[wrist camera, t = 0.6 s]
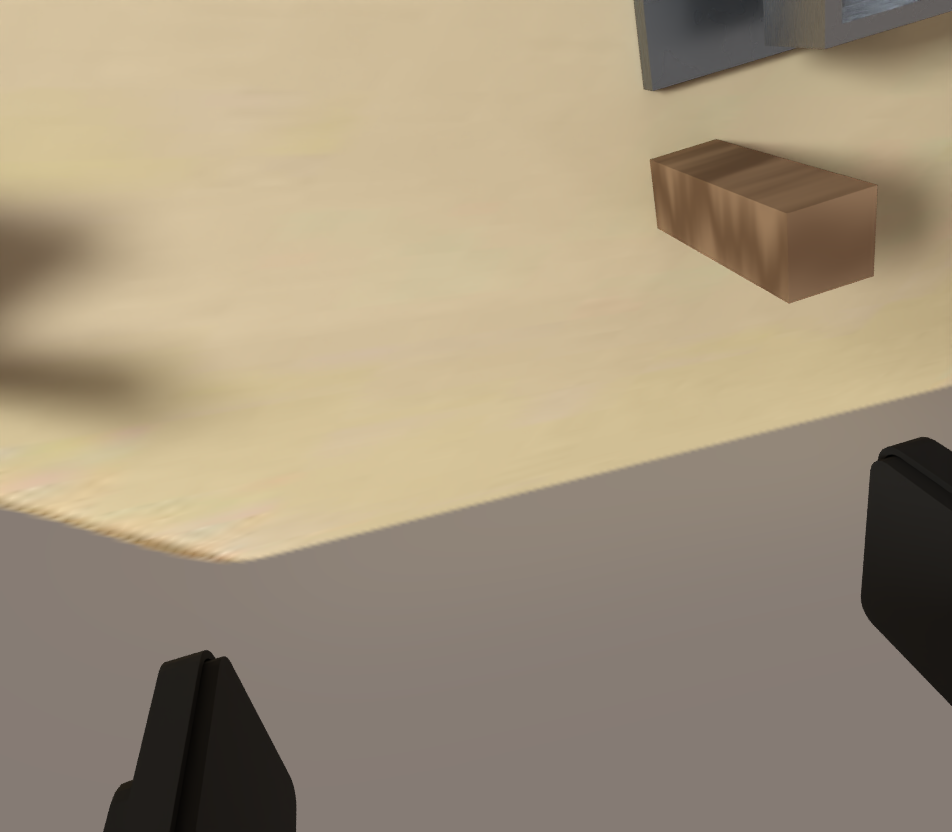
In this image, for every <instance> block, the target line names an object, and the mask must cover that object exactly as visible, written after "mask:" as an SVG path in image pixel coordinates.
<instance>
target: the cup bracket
mask: <svg viewBox="0 0 952 832" xmlns="http://www.w3.org/2000/svg"><path fill="white" fill-rule="evenodd" d="M634 7H635V16H636V25H637V34H638V42H639V51H640V60H641V69H642V78H643V87H644V89H645V90H650V91H655V90H658V89H661V88H665V87H668V86H671V85H675V84H678V83H681V82H685V81H688V80H691V79H694V78H698V77H701V76H704V75H708V74H711V73H714V72H718V71H721V70H724V69H728V68H731V67H734V66H738V65H741V64H744V63H748V62H751V61H754V60H758V59H761V58H764V57H768V56H771V55H774V54H778V53H781V52H784V51H788V50H791V49H794V48H814V49H827V48H830V47H833V46H837V45H840V44H843V43H847V42H850V41H853V40H857V39H860V38H863V37H867V36H870V35H873V34H877V33H880V32H883V31H887V30H890V29H893V28H897V27H900V26H903V25H906V24H910V23H913V22H916V21H920V20H923V19H926V18H930V17H933V16H936V15H940V14H943V13H946V12H950V11H952V0H634Z"/></svg>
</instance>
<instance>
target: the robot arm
mask: <svg viewBox="0 0 952 832" xmlns="http://www.w3.org/2000/svg"><path fill="white" fill-rule="evenodd" d="M861 603H862V607H863V609H864V612H865V614H866V616H867V617H868V619H869V620H870V621H871V623H872V624H873V625H874V626H875V627H876V628H877V629H878V630H879V631H880V632H881V633H882V634H883V635H884V636H885V637H886V638H887V639H888V640H889V641H890V643H891V644H892V645H894V646H895V648H896V649H897V650H898V651H899V652H900V653H901V654H902V655H903V656H904V657H905V658H906V659H907V660H908V661H909V662H910V663H911V664H912V665H913V666H914V667H915V668H916V669H917V670H918V671H919V673H921V675H922V676H923V677H924V678H925V679H926V680H927V681H928V682H929V683H930V684H931V685H932V686H933V687H934V688H935V689H936V690H937V691H938V692H939V693H940V694H941V695H942V696H943V697H944V698H945V699H946V700H947V701H948V703H950V705H951V706H952V451H950V450H949V449H947V448H946V447H944V446H943V445H941V444H939V443H938V442H936V441H935V440H933V439H930V438H928V437H920V438H916V439H913V440H910V441H906V442H903V443H899V444H896V445H893V446H889V447H887V448H885V449H882V451H881V452H880V454H879V457H878V461H876V462H874V463H873V464H872V466H871V470H870V482H869V495H868V509H867V523H866V535H865V549H864V562H863V576H862V588H861ZM103 832H296V797H295V790H294V786H293V783H292V780H291V778H290V775H289V774H288V772H287V770H286V768H285V766H284V764H283V762H282V760H281V758H280V756H279V754H278V752H277V750H276V749H275V746H274V745H273V743H272V741H271V739H270V737H269V735H268V733H267V731H266V729H265V727H264V725H263V723H262V722H261V720H260V718H259V716H258V714H257V712H256V710H255V708H254V706H253V704H252V702H251V700H250V698H249V697H248V695H247V693H246V691H245V689H244V687H243V685H242V683H241V681H240V679H239V677H238V676H237V674H236V672H235V670H234V668H233V666H232V664H231V662H230V661H229V659H228V658H227V657H220V658H215V657H214V656H213V654H212V653H211V652H210V651H208V650H204V651H201V652H198V653H194V654H191V655H188V656H184V657H181V658H178V659H174V660H171V661H168V662H164V663H163V664H162V666H161V668H160V670H159V673H158V678H157V682H156V686H155V690H154V694H153V699H152V703H151V707H150V711H149V715H148V719H147V724H146V728H145V733H144V736H143V740H142V744H141V749H140V753H139V757H138V761H137V766H136V770H135V774H134V778H133V780H131V781H128V782H126V783H123V784H121V785H120V787H119V788H118V789H117V791H116V792H115V794H114V797H113V799H112V802H111V805H110V808H109V812H108V816H107V820H106V823H105V827H104V831H103Z"/></svg>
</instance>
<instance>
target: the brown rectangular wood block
mask: <svg viewBox="0 0 952 832" xmlns="http://www.w3.org/2000/svg"><path fill="white" fill-rule="evenodd" d="M650 165H651V173H652V182H653V191H654V200H655V209H656V217H657V226H658V229H660V230H662V231H664V232H665V233H667V234H669V235H671V236H672V237H674V238H676V239H678V240H679V241H681V242H683V243H685V244H686V245H688V246H690V247H691V248H693V249H695V250H697V251H698V252H700V253H702V254H704V255H705V256H707V257H709V258H711V259H712V260H714V261H716V262H718V263H719V264H721V265H723V266H725V267H726V268H728V269H730V270H731V271H733V272H735V273H737V274H738V275H740V276H742V277H744V278H745V279H747V280H749V281H751V282H752V283H754V284H756V285H758V286H759V287H761V288H763V289H765V290H766V291H768V292H770V293H772V294H773V295H775V296H777V297H778V298H780V299H782V300H784V301H785V302H787V303H792V302H795V301H798V300H801V299H804V298H807V297H811V296H814V295H817V294H820V293H823V292H826V291H829V290H832V289H835V288H838V287H841V286H844V285H847V284H851V283H854V282H857V281H860V280H863V279H866V278H869V277H872V276H874V254H875V231H876V207H877V185H875V184H872V183H868V182H865V181H861V180H858V179H854V178H851V177H847V176H844V175H840V174H837V173H833V172H830V171H826V170H822V169H819V168H815V167H812V166H808V165H805V164H801V163H798V162H794V161H791V160H787V159H784V158H780V157H777V156H773V155H770V154H766V153H762V152H759V151H755V150H752V149H748V148H745V147H741V146H738V145H734V144H731V143H727V142H724V141H720V140H717V139H716V140H712V141H709V142H706V143H703V144H699V145H696V146H693V147H689V148H686V149H683V150H680V151H676V152H673V153H670V154H667V155H663V156H660V157H657V158H654V159H650Z"/></svg>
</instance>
